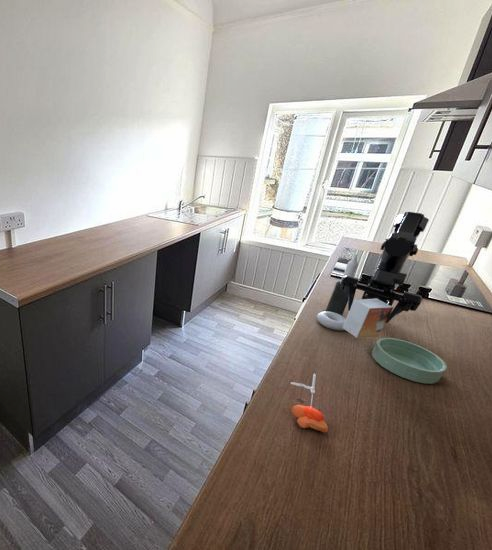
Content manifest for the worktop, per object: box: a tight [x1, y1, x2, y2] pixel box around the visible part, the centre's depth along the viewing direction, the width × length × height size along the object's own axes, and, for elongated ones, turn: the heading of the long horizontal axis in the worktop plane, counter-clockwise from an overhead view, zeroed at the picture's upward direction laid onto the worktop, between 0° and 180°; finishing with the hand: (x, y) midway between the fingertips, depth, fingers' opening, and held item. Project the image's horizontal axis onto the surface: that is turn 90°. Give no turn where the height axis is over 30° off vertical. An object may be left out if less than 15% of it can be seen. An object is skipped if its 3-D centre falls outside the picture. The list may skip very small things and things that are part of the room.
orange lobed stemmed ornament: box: [290, 373, 329, 434], centre depth 66 cm, size 6×10×12 cm, turn 39°
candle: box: [325, 253, 359, 316], centre depth 109 cm, size 5×5×25 cm
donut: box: [316, 310, 347, 332], centre depth 107 cm, size 10×4×10 cm
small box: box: [343, 298, 394, 339], centre depth 89 cm, size 8×6×10 cm
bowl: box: [371, 337, 447, 385], centre depth 87 cm, size 15×15×4 cm
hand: (366, 316), depth 88 cm, fingers closed on small box, 9 cm apart
